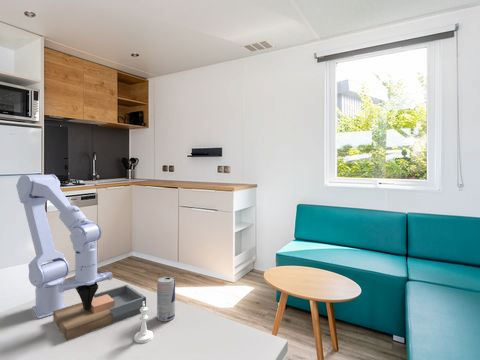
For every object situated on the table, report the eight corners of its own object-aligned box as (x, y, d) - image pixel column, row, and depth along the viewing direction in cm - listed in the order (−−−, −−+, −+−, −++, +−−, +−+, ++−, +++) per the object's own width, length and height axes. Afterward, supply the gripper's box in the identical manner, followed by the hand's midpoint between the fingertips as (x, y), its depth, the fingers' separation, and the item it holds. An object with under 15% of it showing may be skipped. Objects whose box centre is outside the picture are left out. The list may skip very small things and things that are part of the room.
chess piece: (135, 345, 74) (135, 307, 74) (133, 335, 78) (132, 299, 78) (154, 340, 76) (154, 303, 76) (151, 330, 81) (151, 296, 80)
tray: (94, 307, 93) (94, 294, 93) (126, 296, 101) (126, 284, 101) (111, 324, 84) (111, 309, 84) (146, 310, 92) (146, 297, 92)
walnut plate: (53, 320, 85) (53, 311, 85) (95, 307, 94) (95, 298, 94) (67, 340, 75) (67, 329, 75) (113, 323, 84) (113, 313, 84)
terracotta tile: (87, 306, 88) (87, 300, 88) (107, 300, 92) (107, 294, 92) (93, 313, 84) (93, 306, 84) (114, 306, 88) (114, 300, 88)
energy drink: (177, 313, 90) (177, 276, 90) (171, 322, 85) (171, 283, 85) (161, 312, 91) (161, 275, 90) (154, 321, 86) (154, 282, 85)
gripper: (62, 273, 77) (63, 323, 77) (116, 261, 87) (116, 305, 88) (55, 267, 82) (56, 313, 82) (107, 256, 92) (107, 297, 93)
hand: (86, 308), depth 85 cm, fingers closed
